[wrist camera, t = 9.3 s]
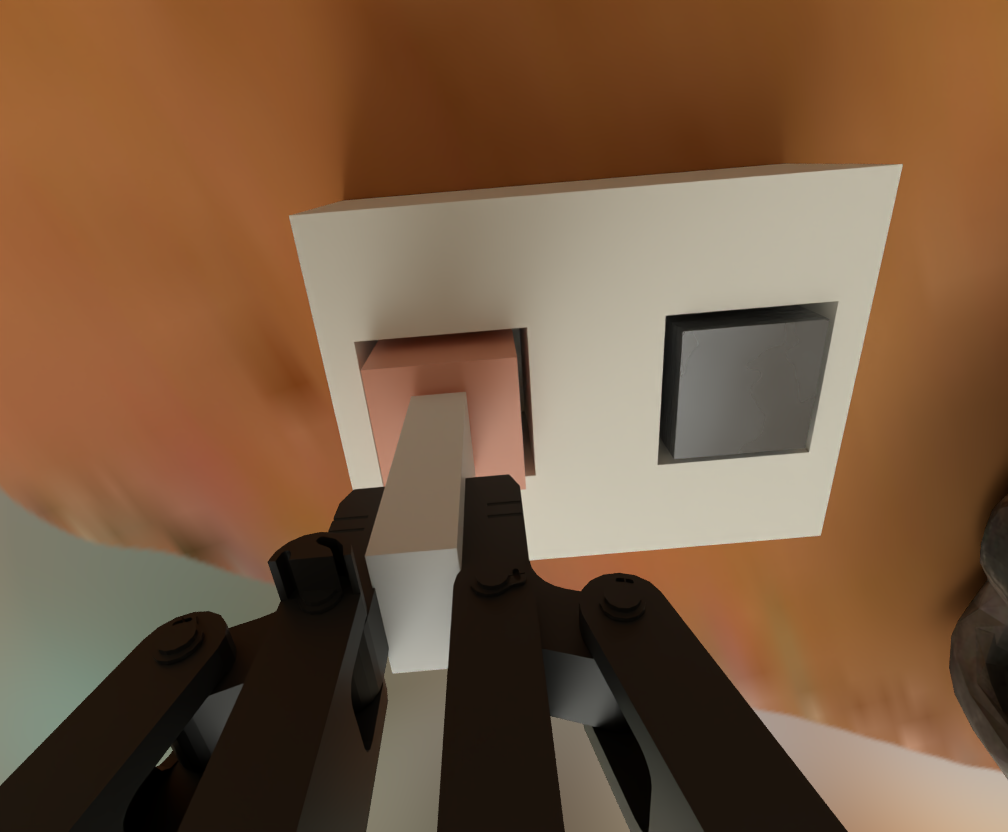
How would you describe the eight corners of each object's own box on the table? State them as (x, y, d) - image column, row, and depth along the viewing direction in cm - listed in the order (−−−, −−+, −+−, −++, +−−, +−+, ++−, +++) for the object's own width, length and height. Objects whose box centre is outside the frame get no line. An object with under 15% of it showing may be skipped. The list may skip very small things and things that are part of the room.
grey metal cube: (640, 295, 19) (683, 331, 15) (756, 286, 19) (829, 319, 15) (636, 402, 21) (674, 459, 17) (743, 393, 21) (805, 448, 17)
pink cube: (387, 324, 18) (360, 370, 14) (508, 314, 18) (517, 357, 14) (406, 432, 20) (387, 501, 16) (517, 423, 20) (526, 489, 16)
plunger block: (342, 200, 19) (288, 215, 14) (784, 163, 19) (903, 164, 14) (396, 482, 24) (372, 573, 19) (745, 452, 25) (820, 535, 19)
